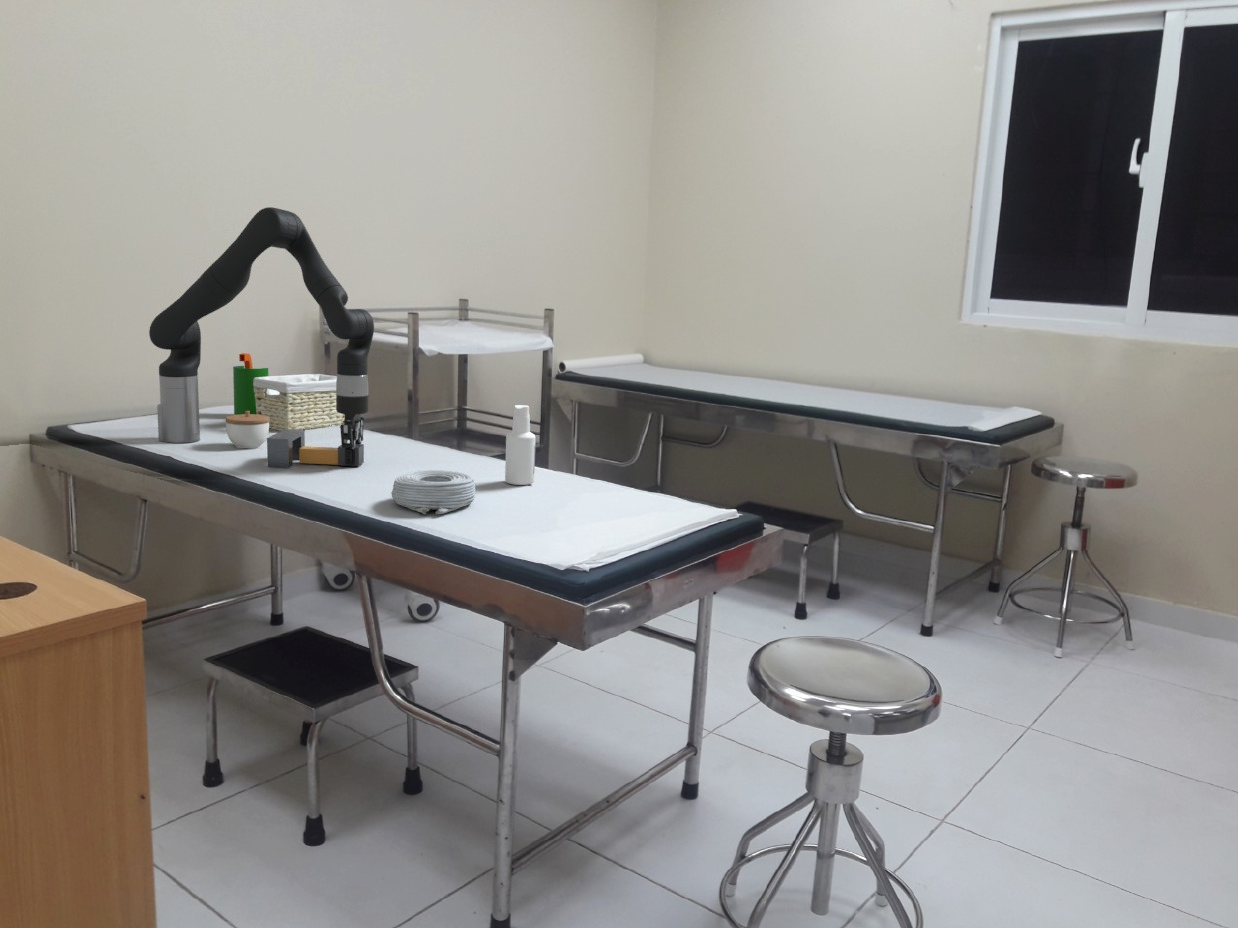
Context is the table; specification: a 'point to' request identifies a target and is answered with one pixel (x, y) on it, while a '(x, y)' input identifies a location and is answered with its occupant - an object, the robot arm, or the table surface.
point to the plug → (329, 455)
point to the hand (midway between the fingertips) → (352, 462)
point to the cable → (433, 490)
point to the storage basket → (297, 401)
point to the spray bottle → (520, 449)
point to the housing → (284, 448)
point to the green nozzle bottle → (245, 385)
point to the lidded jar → (247, 429)
